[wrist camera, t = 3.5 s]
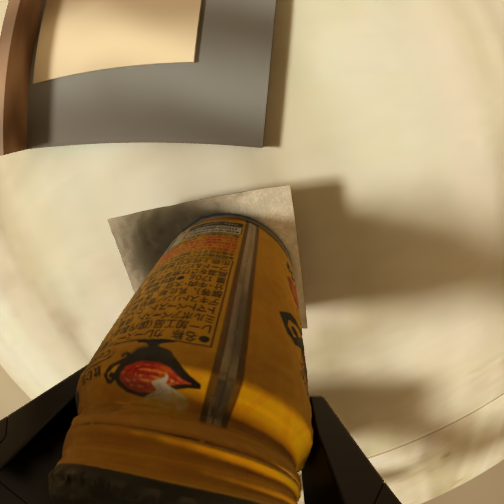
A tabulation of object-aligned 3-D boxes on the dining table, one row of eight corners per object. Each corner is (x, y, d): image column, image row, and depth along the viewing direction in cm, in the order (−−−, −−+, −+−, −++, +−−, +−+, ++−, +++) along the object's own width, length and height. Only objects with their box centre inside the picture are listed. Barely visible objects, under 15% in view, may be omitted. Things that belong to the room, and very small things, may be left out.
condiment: (307, 325, 15) (332, 568, 4) (155, 339, 16) (73, 533, 5) (289, 183, 13) (369, 502, 2) (110, 217, 14) (-85, 393, 3)
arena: (262, 146, 14) (261, 151, 12) (23, 148, 15) (-9, 156, 12) (284, -88, 8) (286, -115, 6) (55, -50, 9) (32, -63, 6)
